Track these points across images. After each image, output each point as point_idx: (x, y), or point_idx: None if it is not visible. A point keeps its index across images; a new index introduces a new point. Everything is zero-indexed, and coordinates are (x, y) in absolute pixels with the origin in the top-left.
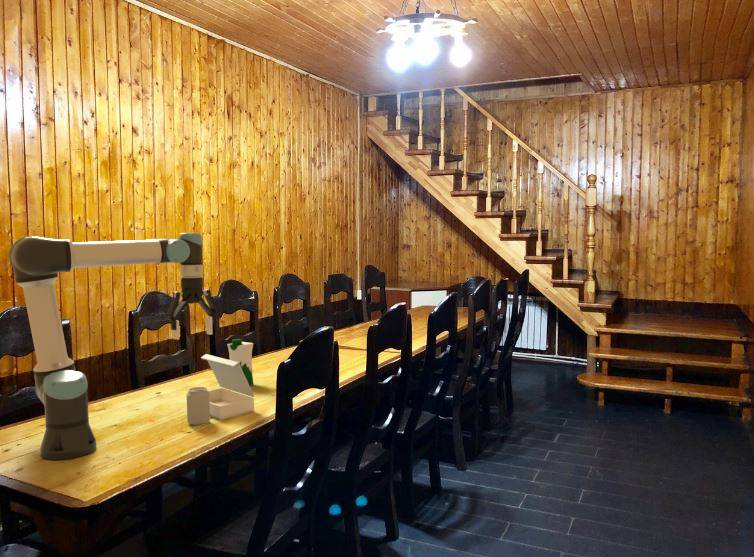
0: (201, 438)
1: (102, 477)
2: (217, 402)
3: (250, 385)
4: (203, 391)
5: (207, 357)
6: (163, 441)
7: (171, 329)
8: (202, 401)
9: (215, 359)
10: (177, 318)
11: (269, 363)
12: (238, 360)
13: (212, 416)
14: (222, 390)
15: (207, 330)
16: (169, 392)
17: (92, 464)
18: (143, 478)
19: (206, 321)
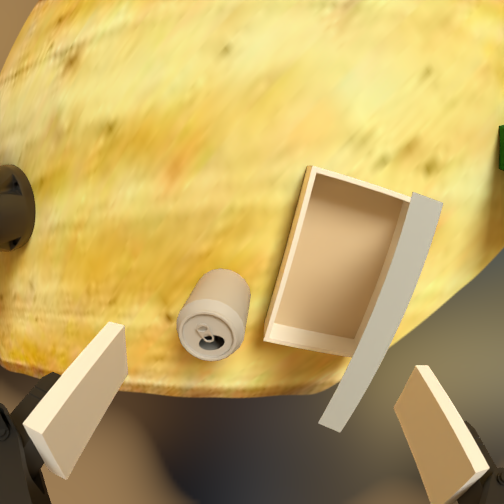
0: (161, 360)
1: (15, 334)
2: (374, 217)
3: None
4: (208, 358)
5: (410, 241)
6: (109, 311)
7: (51, 374)
8: (204, 346)
9: (385, 311)
10: (45, 488)
11: None
12: None
13: (273, 291)
14: None
15: (419, 395)
16: (387, 10)
17: (14, 289)
18: None
19: (454, 439)
